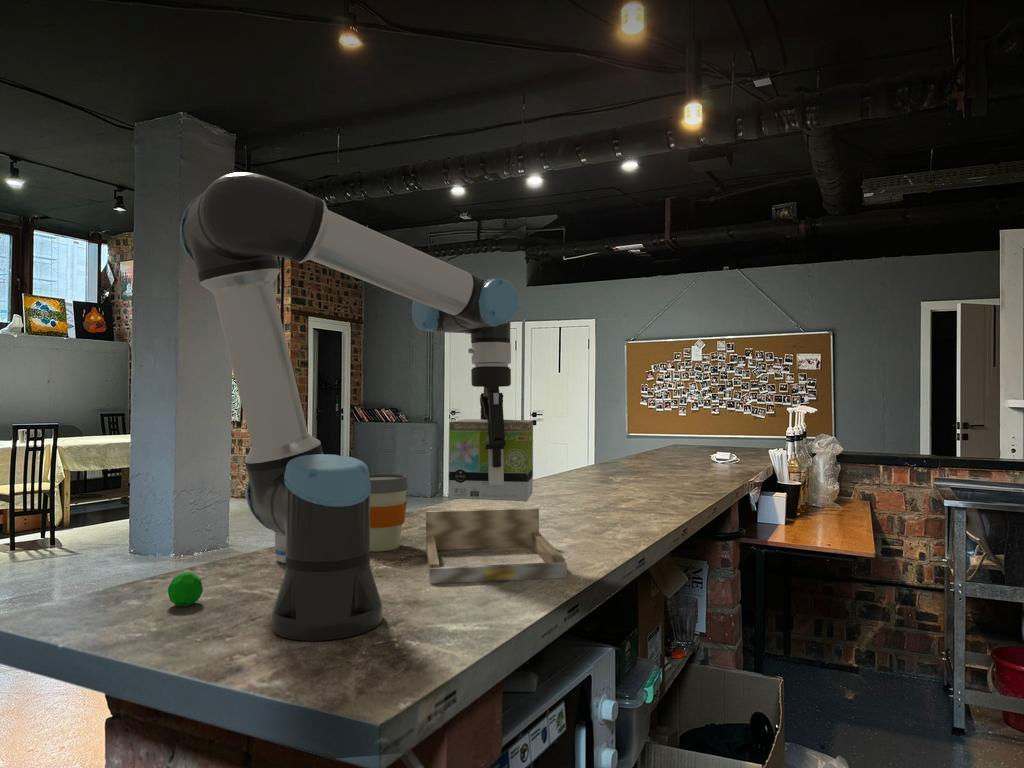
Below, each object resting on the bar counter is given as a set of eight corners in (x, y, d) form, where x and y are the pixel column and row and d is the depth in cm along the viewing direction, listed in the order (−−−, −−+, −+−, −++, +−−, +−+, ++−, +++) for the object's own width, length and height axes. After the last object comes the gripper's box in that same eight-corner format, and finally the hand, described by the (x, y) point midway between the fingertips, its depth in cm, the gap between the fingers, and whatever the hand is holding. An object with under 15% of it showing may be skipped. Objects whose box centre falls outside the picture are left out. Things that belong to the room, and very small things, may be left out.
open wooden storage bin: (430, 584, 120) (430, 537, 121) (425, 548, 148) (425, 510, 149) (567, 578, 124) (566, 532, 124) (537, 544, 152) (537, 507, 152)
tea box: (447, 501, 129) (447, 420, 130) (458, 493, 139) (457, 418, 140) (529, 502, 128) (528, 420, 128) (534, 494, 137) (533, 418, 138)
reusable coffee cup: (380, 555, 142) (380, 481, 143) (335, 549, 149) (335, 478, 149) (420, 544, 153) (419, 475, 153) (376, 538, 160) (376, 472, 160)
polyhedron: (162, 610, 107) (162, 578, 107) (175, 600, 111) (175, 570, 112) (196, 609, 107) (196, 577, 107) (207, 600, 112) (207, 569, 112)
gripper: (465, 368, 145) (466, 474, 145) (478, 363, 122) (479, 489, 121) (501, 368, 146) (502, 473, 146) (520, 363, 123) (521, 488, 122)
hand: (492, 481), depth 133 cm, fingers closed on tea box, 11 cm apart
